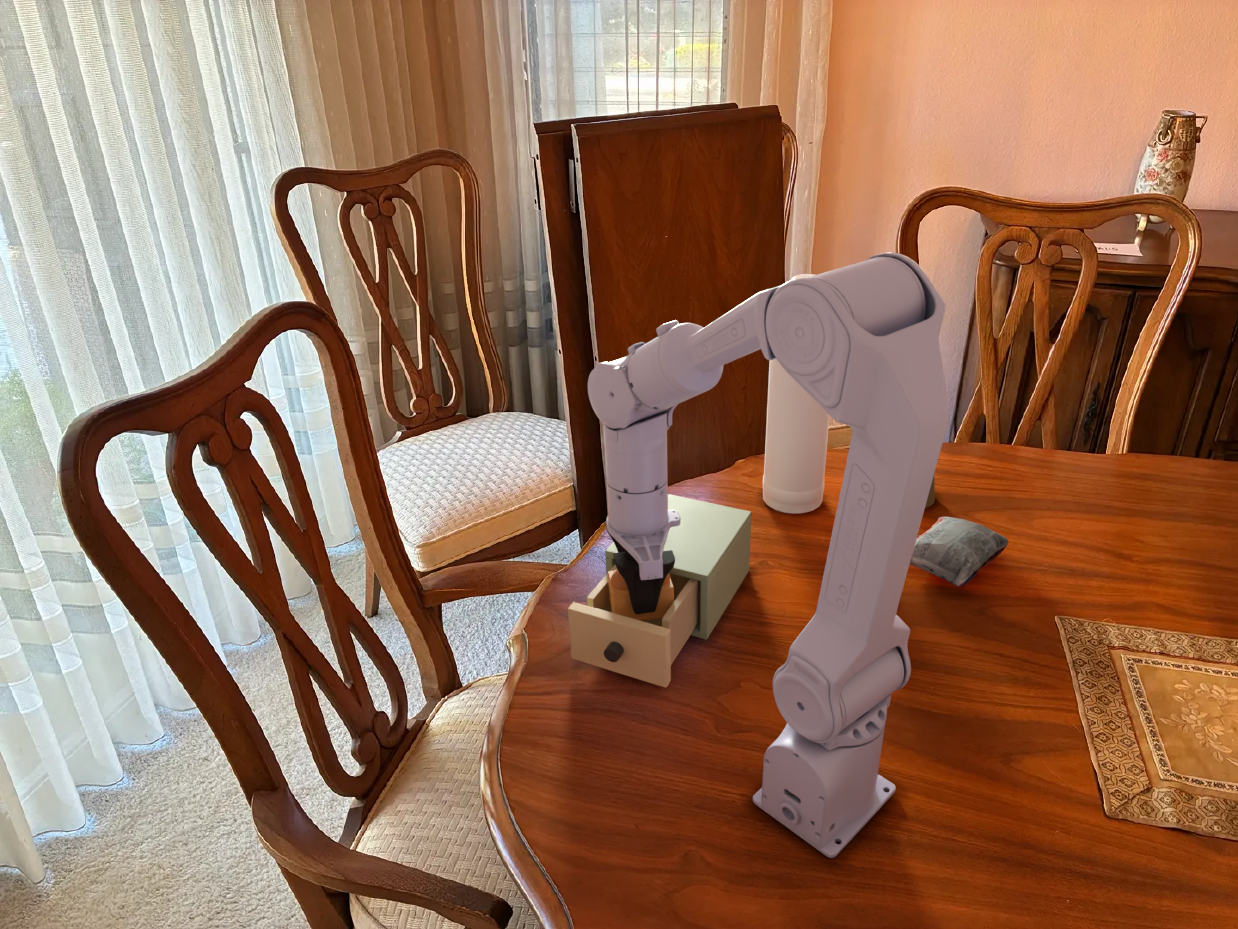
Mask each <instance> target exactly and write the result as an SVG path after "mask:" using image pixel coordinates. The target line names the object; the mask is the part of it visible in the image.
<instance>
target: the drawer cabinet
mask: <svg viewBox="0 0 1238 929" xmlns="http://www.w3.org/2000/svg"><path fill="white" fill-rule="evenodd" d="M668 510H676V511H677V512H678V513H679V516H680V520H681V523H680V525H679V526H675V527H671V528H670V529H669V532H668V536H667V539H666V543H665V546H664V550H663V551H669V550H672V551H673V554H674V557H675V564H674V567H673V568H672V570H671V571H670V572H669V573H672V574H676V575H679V576H683V577H687V578H691V579H695V580H699V581H701V594H700V621H699V622H698V624H697V626H696V627H695V629H694V630H693V632H692V633H691V635H690V636H692V637H695V638H699V639H703V640H708V639H709V637H710V635H711V633H712V632H713V630H714V629H715V627H716V626H717V624H718V622H719V621H720V619H721V618H722V616H723V614H724V612H725V611H726V610H727V609H728V606H729V605H730V603H731V602H732V599H733V598H734V596H735V594H736V593H737V592H738V590H739V588H740V587H741V585H742V583H743V582H744V580H745V578H746V576H747V575H748V573H749V572H750V558H751V535H752V511H751V510H746V509H740V508H738V507H737V508H736V507H732V506H727V505H722V504H718V503H713V502H708V501H703V500H699V499H694V498H690V497H686V496H680V495H675V494H671V493H668ZM613 553H618V551H617V548H616V546H615V544H614V542H613V541H612V542H611V543H610V544H609V546H608V547H607V548H606V549H605V551H604V554H605V555H604V556H605V575H606V574H607V573H608V571H610V570H611V568H612V567H613V566H614V565H615V561H614V557H613Z"/></svg>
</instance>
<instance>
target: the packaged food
mask: <svg viewBox="0 0 1238 929" xmlns="http://www.w3.org/2000/svg"><path fill="white" fill-rule="evenodd" d="M1008 544H1009V540H1008V538H1007V537H1006V536H1004V535H1003V534H1000V533H999V532H996V531H994V530H992V529H990V528H988V527H986V526H984V525H983V524H981V523H977V522H974V521H971V520H968V519H965V518H958V517H953V516H940V517H938V518H937V521H936V522H935V523H934V524H932V526H931V527H930V528H929V529H927V530H926V531H924V532H923V533H922V534H920V535H919V536H918V537H917V539H916V542H915V546H914V550H913V553H912V557H911V561H910V564H909V566H913V567H914V568H917V569H920V570H922V571H924V572H926V573H929V574H931V575H933V576H935V577H938V578H940V579H943V580H945V581H946V582H948V583H950V584H952V585H954V586H956V587H957V588H963V587H965V586H966V585H967V584H969V583H970V582H971V581H972V579H974V577H976V575H977V574H978V573H979V572H980V570H982V569H984V568H985V567H986V566H987V565H989V564H990V563H991V562H992V561H994V560H995V559H997V557H999V556H1000V555H1001V554H1002V553H1003V551H1005V549H1006V548H1007V547H1008Z"/></svg>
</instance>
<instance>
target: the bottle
mask: <svg viewBox="0 0 1238 929" xmlns="http://www.w3.org/2000/svg"><path fill="white" fill-rule="evenodd" d="M815 275H816V274H813V273H801V274H796V275H794V276H793V277H792V278H791V280H794V279H800V278H808V277H811V276H815ZM768 365H769V367H768V369H769V370H768V386H767V402H766V403H767V404H766V406H767V407H766V426H765V445H764V466H763V475H762V500H763V501H764V503H765V504H766V505H767V506H768V507H769V508H771V509H773V510H774V511H777V512H780V513H784V514H792V515H799V514H807V513H809V512H813V511H814V510H817V509H818V508H819V507H820V506H821V504H822V503H823V497H824V493H825V475H826V474H825V472H826V464H827V453H828V452H827V451H828V450H827V449H828V440H829V430H830V429H829V427H830V419H831V418H830V417H831V416H830V415H829V414H828V413H827V412H826V411H825V410H824V409H823V408H822V407H821V406H820V405H819V404H818V403H817V402H816V401H815V400H814V399H813V398H812V397H811V396H810V395H809V394H808V393H807V392H806V391H805V390H804V389H803V388H802V387H801V386H800V385H799V384H798V383H797V382H796V381H795V380H794V379H793V378H792V377H791V376H790V375H789V374H788V372H787V371H786V370H785V369H784V368H783V367H782V366H781V364H780V363H779V362H778V360H777V359H773V360H769V364H768Z"/></svg>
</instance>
